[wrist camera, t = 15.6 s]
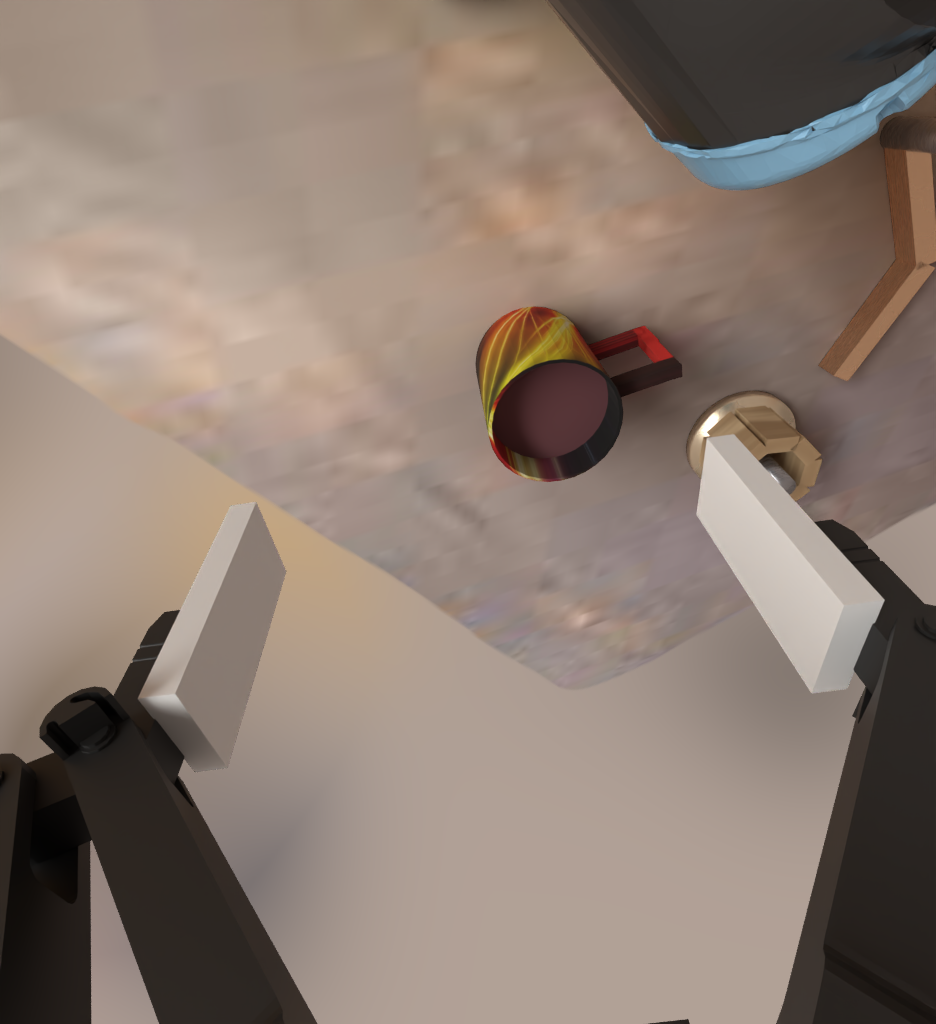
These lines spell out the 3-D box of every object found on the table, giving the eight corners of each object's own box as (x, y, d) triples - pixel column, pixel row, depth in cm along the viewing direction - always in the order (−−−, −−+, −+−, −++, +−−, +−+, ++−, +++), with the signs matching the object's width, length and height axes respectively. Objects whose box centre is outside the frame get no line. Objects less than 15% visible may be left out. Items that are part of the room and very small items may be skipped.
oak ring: (707, 411, 53) (736, 443, 48) (793, 402, 53) (830, 432, 48) (695, 483, 58) (720, 519, 53) (773, 475, 58) (806, 509, 53)
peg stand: (694, 396, 53) (737, 443, 46) (800, 385, 53) (860, 430, 46) (680, 486, 59) (716, 540, 52) (776, 475, 59) (825, 528, 52)
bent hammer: (885, 118, 41) (971, 120, 35) (966, 109, 41) (1068, 110, 35) (813, 372, 53) (868, 410, 46) (877, 365, 53) (941, 402, 46)
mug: (645, 328, 49) (700, 383, 39) (524, 431, 54) (547, 503, 45) (577, 241, 45) (619, 280, 35) (452, 363, 50) (460, 426, 40)
